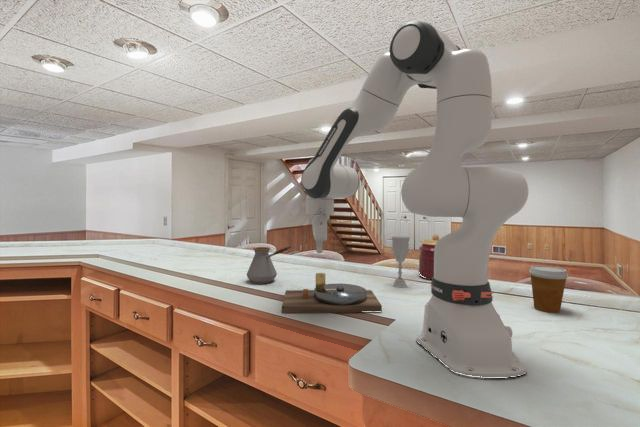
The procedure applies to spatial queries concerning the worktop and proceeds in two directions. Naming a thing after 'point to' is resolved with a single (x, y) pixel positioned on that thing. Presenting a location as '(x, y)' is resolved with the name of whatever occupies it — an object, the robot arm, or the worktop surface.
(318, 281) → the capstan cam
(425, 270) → the canister
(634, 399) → the worktop surface
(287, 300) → the walnut stand
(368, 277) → the worktop surface
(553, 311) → the disposable coffee cup
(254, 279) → the coffee pot
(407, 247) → the chalice
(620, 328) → the worktop surface
